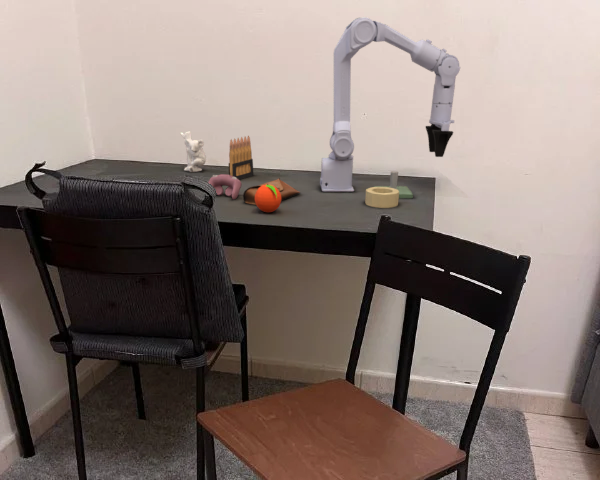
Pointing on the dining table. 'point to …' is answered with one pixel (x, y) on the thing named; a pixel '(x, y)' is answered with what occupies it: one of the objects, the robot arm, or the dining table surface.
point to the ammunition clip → (240, 158)
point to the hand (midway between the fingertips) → (436, 154)
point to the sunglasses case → (284, 188)
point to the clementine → (268, 198)
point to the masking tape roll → (382, 197)
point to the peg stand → (403, 190)
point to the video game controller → (226, 180)
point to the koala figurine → (194, 153)
